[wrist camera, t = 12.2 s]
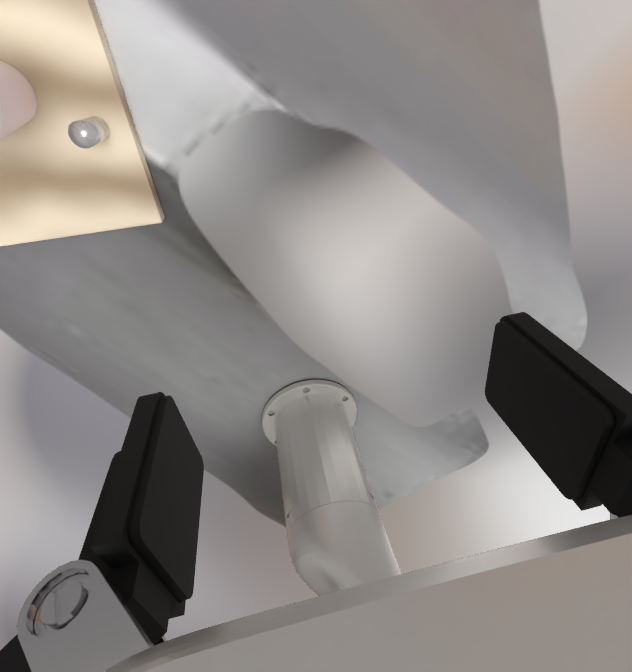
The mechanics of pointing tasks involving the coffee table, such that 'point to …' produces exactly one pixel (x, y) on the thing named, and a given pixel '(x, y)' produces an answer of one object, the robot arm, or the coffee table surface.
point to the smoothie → (14, 100)
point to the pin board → (44, 142)
